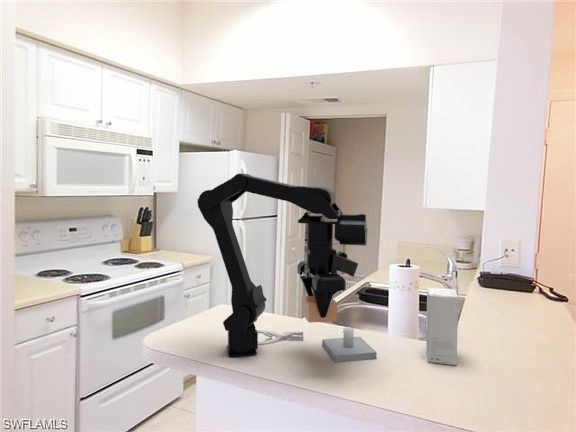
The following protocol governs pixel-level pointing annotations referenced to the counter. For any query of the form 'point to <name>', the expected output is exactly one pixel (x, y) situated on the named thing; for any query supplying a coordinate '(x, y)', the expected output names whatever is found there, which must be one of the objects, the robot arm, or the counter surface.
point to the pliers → (281, 336)
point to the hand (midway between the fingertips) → (319, 312)
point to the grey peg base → (348, 347)
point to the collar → (312, 311)
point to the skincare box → (442, 326)
